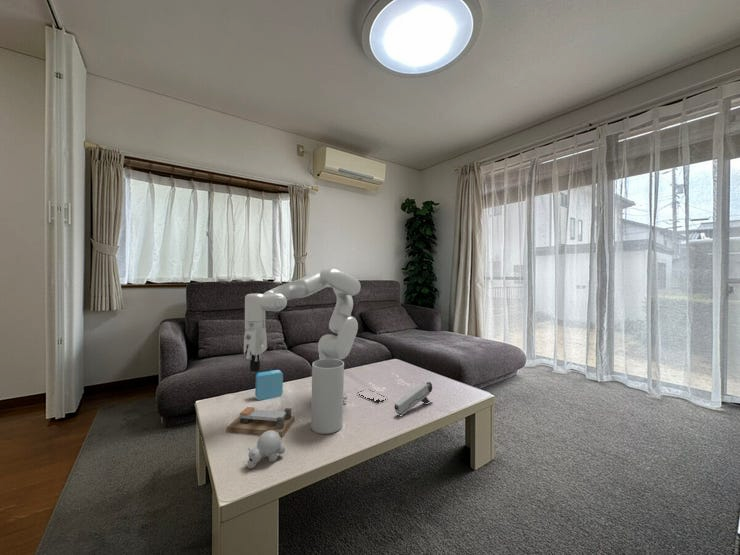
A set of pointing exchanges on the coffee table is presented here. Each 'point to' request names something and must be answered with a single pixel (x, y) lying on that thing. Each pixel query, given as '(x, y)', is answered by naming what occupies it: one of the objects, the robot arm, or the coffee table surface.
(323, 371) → the cylinder vase
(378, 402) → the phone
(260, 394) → the blue rounded block
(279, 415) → the latch lever
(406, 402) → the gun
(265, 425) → the latch base
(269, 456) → the chubby cartoon animal
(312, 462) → the coffee table surface
